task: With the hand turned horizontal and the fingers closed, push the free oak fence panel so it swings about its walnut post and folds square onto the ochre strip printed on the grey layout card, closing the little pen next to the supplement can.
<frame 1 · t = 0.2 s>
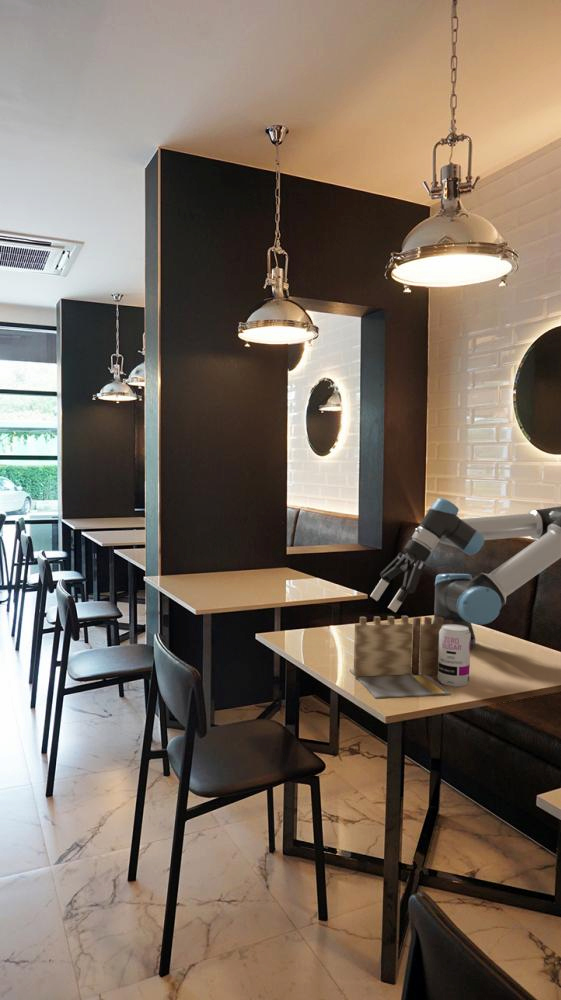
hand: (382, 604, 199), 16 cm above the table, tool tilted 35°, fingers open, 13 cm apart
supplement can: (453, 683, 179), on the table
fence base: (415, 675, 185), on the table
fence panel: (383, 645, 182), point 9 cm above the table, hinge at 0.0°
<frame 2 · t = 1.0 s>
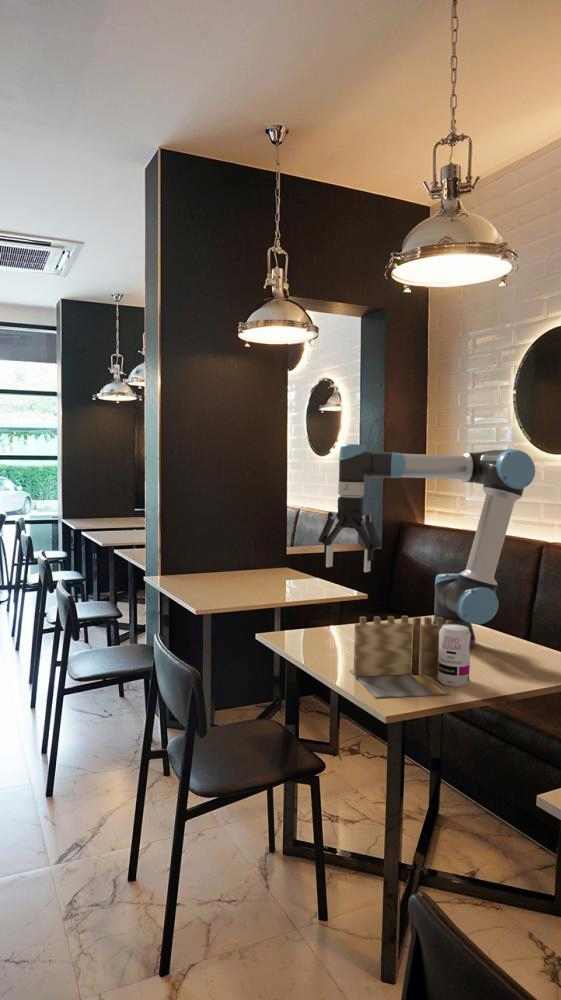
hand: (347, 569, 198), 27 cm above the table, tool pointing down, fingers open, 12 cm apart
nothing on the table moved.
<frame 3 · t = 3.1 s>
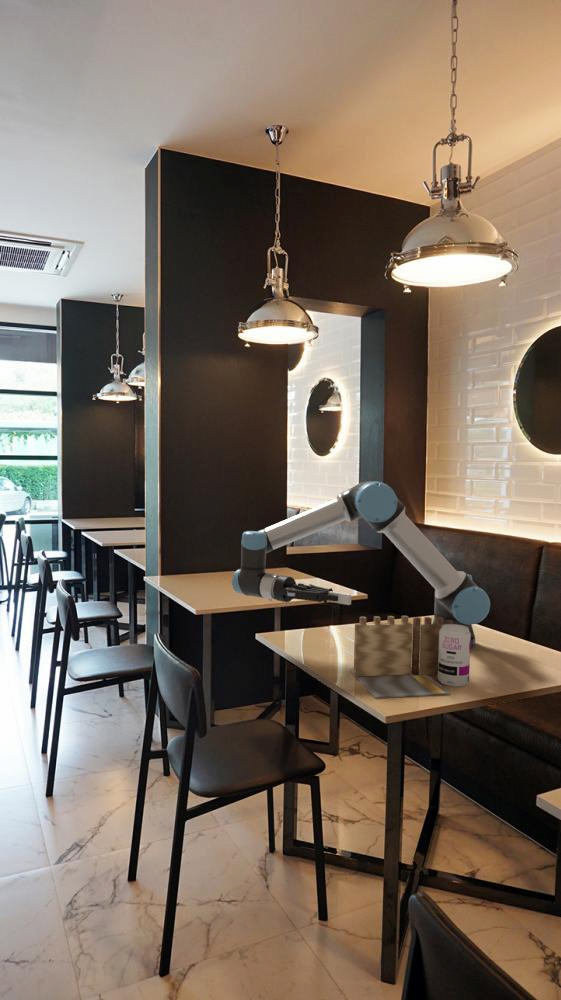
hand: (349, 599, 184), 21 cm above the table, tool horizontal, fingers closed
nothing on the table moved.
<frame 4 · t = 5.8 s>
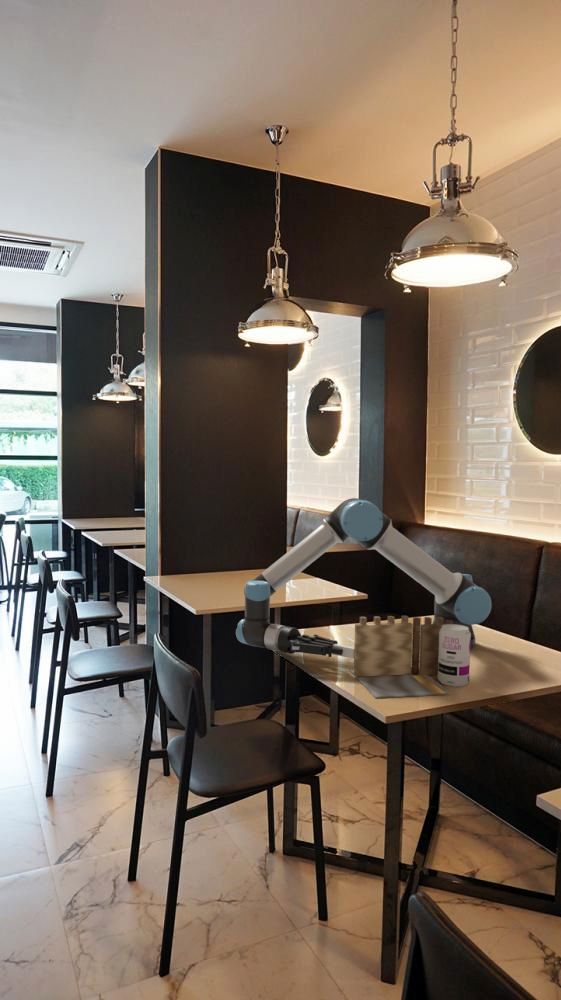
hand: (354, 653, 182), 6 cm above the table, tool horizontal, fingers closed
fence panel: (383, 645, 182), point 9 cm above the table, hinge at 0.4°, touching gripper
everything else where it was.
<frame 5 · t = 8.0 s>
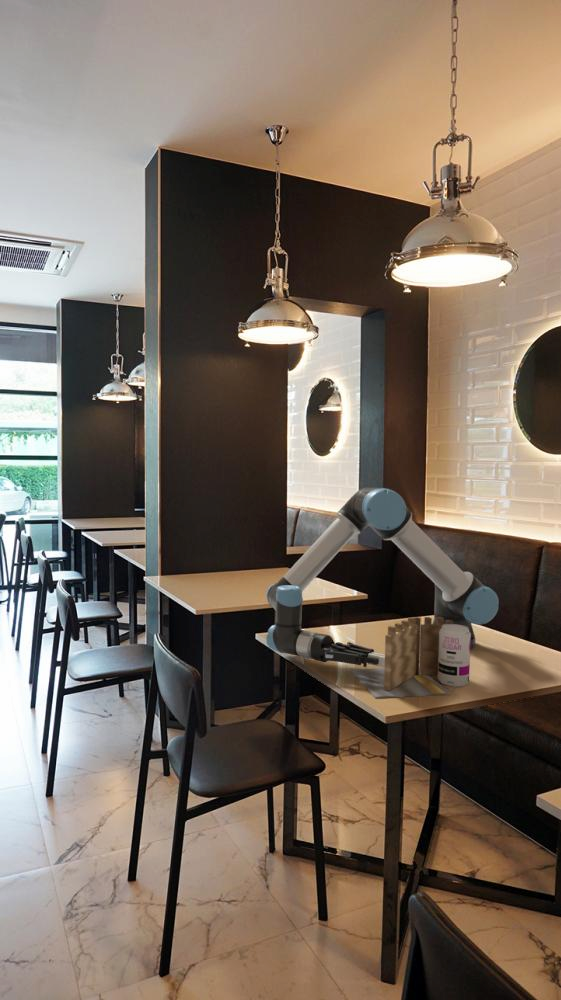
hand: (392, 662, 175), 6 cm above the table, tool horizontal, fingers closed, pressing on fence panel
fence panel: (401, 652, 177), point 9 cm above the table, hinge at 43.7°, touching gripper
everything else where it was.
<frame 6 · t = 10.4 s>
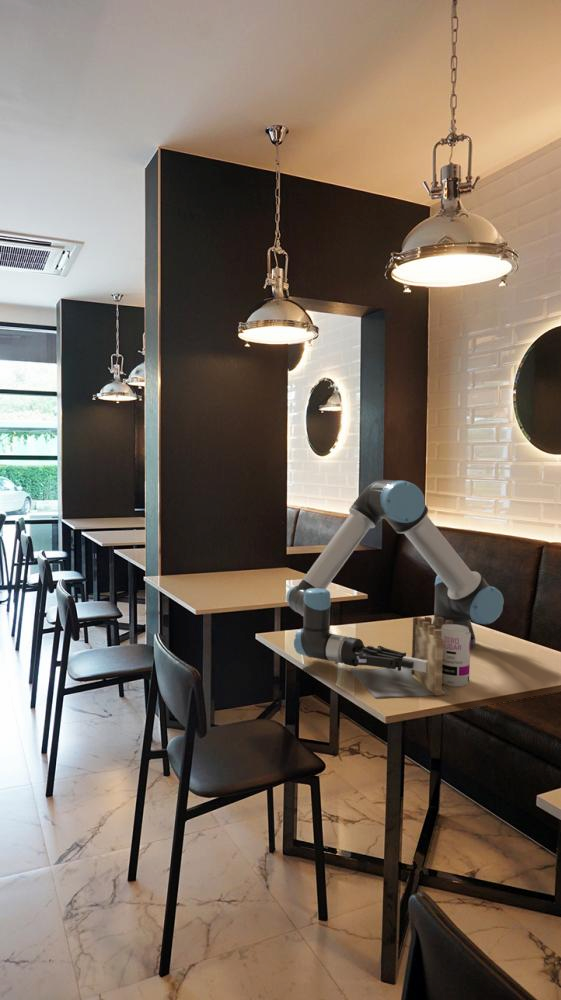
hand: (426, 666, 171), 6 cm above the table, tool horizontal, fingers closed
fence panel: (428, 654, 175), point 9 cm above the table, hinge at 86.6°, touching gripper
everything else where it was.
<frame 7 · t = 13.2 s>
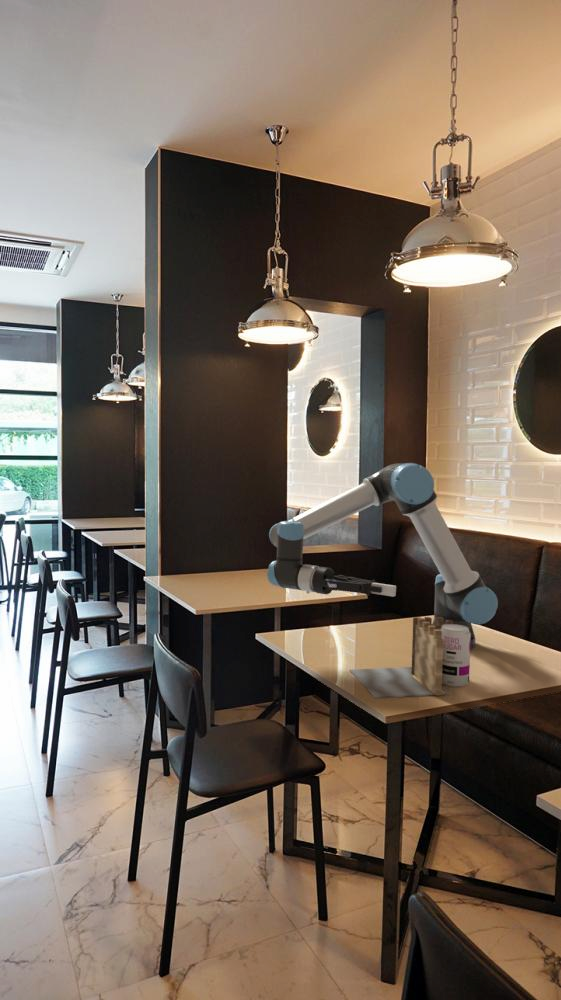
hand: (394, 591, 176), 25 cm above the table, tool horizontal, fingers closed
fence panel: (428, 654, 175), point 9 cm above the table, hinge at 86.7°
everything else where it was.
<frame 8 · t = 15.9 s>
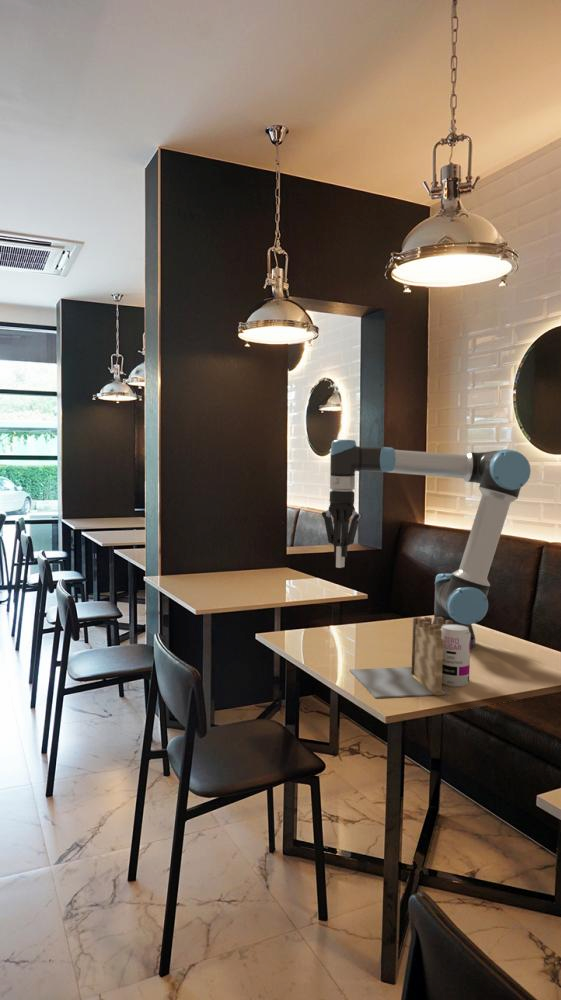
hand: (340, 567, 205), 26 cm above the table, tool pointing down, fingers closed
nothing on the table moved.
at the end: fence panel at +87° (first picture: +0°); supplement can tilted 0° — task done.
